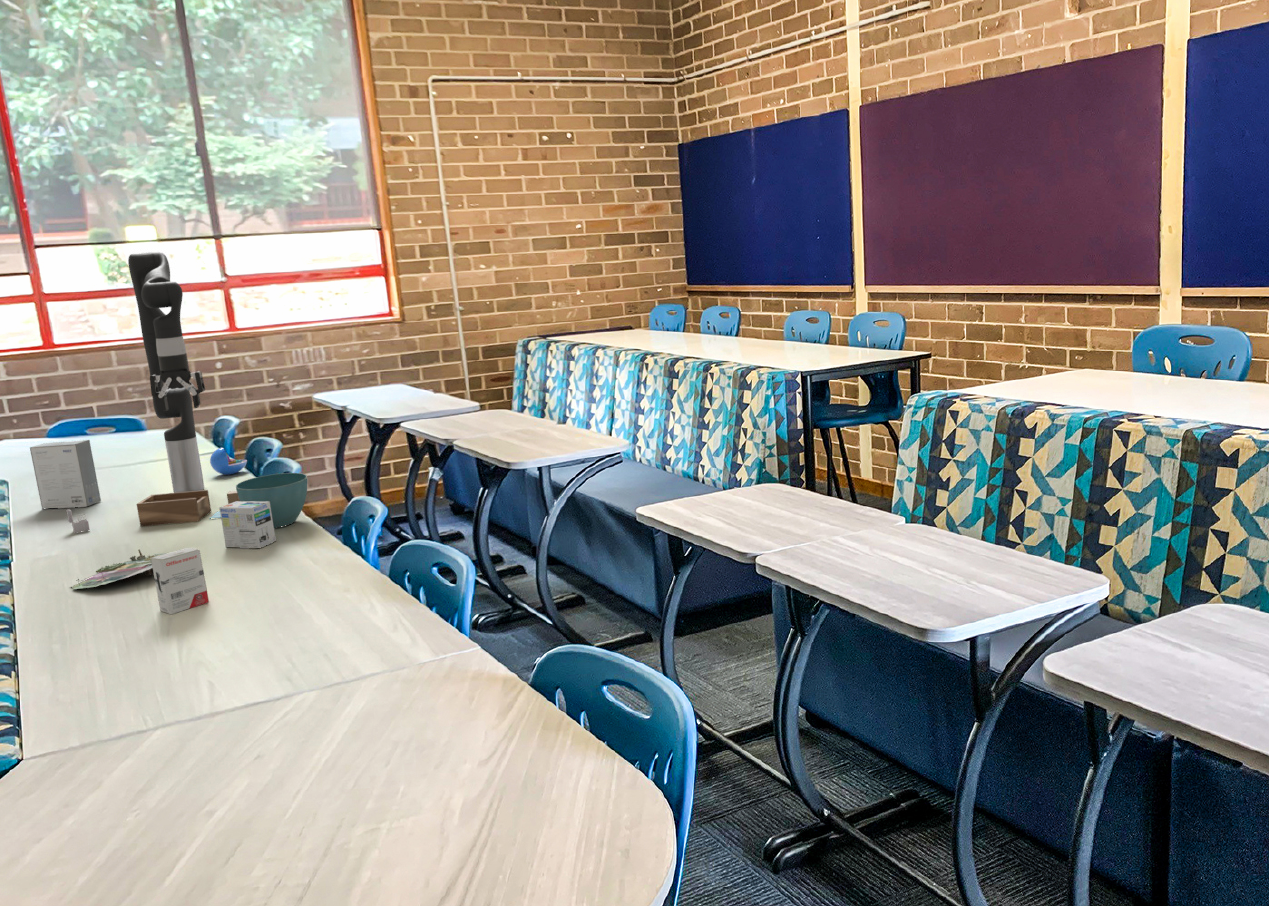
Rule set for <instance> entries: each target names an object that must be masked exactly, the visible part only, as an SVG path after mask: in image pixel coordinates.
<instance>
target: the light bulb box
mask: <svg viewBox="0 0 1269 906" xmlns="http://www.w3.org/2000/svg"><path fill="white" fill-rule="evenodd" d="M219 511H220V514H221V525H222V531H223V539H224V543H225V548H226V547H240V548H239V549H249V548H260V547H262V548H264V547H267V546H269V545H271V544H273V542H274V541H276V542H277V539H276V538H277V537H276V533H275V528H274V526H273V520H272V513H271V507H270V502H269V501H267V502H254V501H250V502H239V501H236V502H233V503H230V504H224V505H222V506H219ZM270 543H271V544H270ZM274 543H275V542H274ZM266 545H267V546H266ZM260 549H261V548H260Z"/></svg>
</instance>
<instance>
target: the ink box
mask: <svg viewBox="0 0 1269 906" xmlns="http://www.w3.org/2000/svg"><path fill="white" fill-rule="evenodd" d="M165 553H166V554H163V555H159V556H156V557H152V558H151V561H152V567H153V572H154V575H153V578H154V583H155V590H156V593H157V600H158V605H159V610H160V611H161V612H163V613H167V614H169V615H174V614H177V613H180V612H182V611H183V612H184V611H185V610H186V611H187V610H189V609H192V608H195V607H196V608H197V607H198V606H201V605H204V604H207V603H209V602H210V600H209V595H208V594H209V593H208V588H207V583H206V578H205V572H204V568H203V560H202V555H201V550H200V549H199V548H194V547H185V548H181V549H177V550H175V551H171V552H165Z"/></svg>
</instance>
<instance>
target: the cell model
mask: <svg viewBox="0 0 1269 906" xmlns="http://www.w3.org/2000/svg"><path fill="white" fill-rule="evenodd" d="M247 463H248V460H247V459H235V458H230V456H229V454H228V453H227V452H226V450H225V448H224V447H219V448H217V449H216V450H214V451H213V452H212V453H211V456H210V458H209V464H210V467H211V468H212V469H213V470H214V471H215V472H216V473H218V474H221V475H224V476H225V475H226V476H228V475H234V474H237V473H239V472H240V471H242V470H243V469H244V468H245V467H246V465H247Z"/></svg>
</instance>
